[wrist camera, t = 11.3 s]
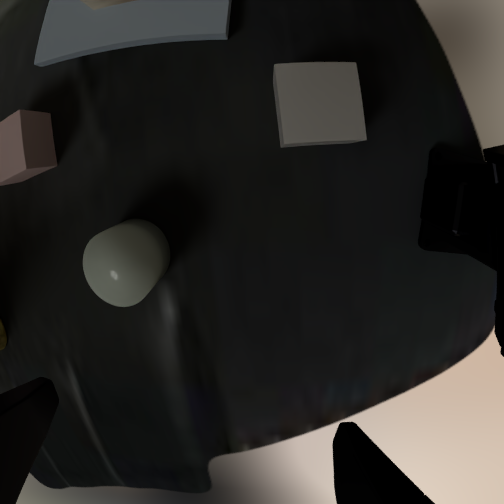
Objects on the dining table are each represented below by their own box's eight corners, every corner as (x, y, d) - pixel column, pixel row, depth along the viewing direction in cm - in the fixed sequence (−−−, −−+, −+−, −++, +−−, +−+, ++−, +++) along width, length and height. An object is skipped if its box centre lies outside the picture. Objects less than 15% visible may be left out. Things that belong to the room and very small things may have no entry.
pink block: (51, 113, 17) (19, 109, 13) (58, 165, 18) (26, 169, 14) (16, 132, 17) (-15, 133, 14) (22, 181, 18) (-9, 187, 15)
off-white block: (340, 79, 16) (355, 62, 12) (348, 143, 17) (366, 139, 13) (272, 81, 16) (274, 64, 13) (280, 147, 17) (284, 144, 14)
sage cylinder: (170, 219, 19) (150, 232, 15) (171, 286, 20) (154, 311, 16) (107, 217, 19) (79, 229, 15) (112, 280, 20) (88, 301, 17)
